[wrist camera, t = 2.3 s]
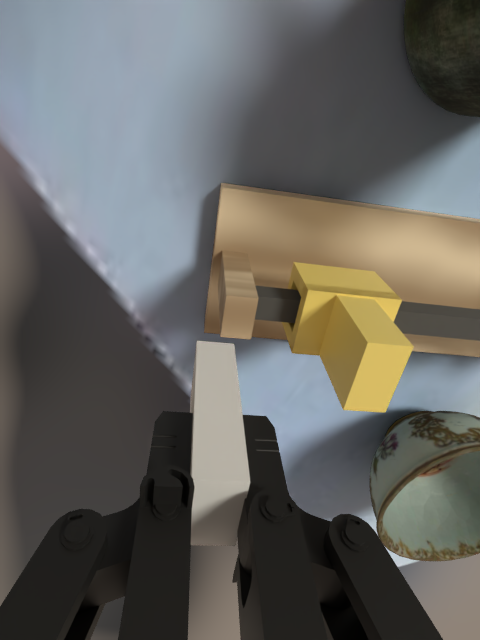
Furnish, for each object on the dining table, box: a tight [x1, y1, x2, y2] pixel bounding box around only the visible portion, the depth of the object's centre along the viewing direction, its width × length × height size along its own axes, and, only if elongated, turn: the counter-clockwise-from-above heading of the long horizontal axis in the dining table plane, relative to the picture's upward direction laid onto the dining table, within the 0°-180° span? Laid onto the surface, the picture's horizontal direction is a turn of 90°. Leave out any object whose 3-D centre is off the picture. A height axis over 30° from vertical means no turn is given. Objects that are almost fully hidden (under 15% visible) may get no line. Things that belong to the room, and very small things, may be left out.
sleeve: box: [282, 262, 414, 413], centre depth 20 cm, size 4×5×8 cm
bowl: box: [370, 411, 480, 561], centre depth 33 cm, size 14×14×8 cm
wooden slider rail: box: [204, 183, 480, 357], centre depth 25 cm, size 10×28×8 cm, turn 82°
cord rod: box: [255, 285, 480, 341], centre depth 23 cm, size 1×24×1 cm, turn 82°
